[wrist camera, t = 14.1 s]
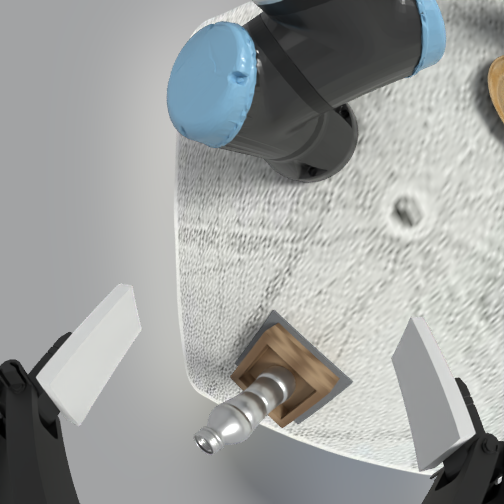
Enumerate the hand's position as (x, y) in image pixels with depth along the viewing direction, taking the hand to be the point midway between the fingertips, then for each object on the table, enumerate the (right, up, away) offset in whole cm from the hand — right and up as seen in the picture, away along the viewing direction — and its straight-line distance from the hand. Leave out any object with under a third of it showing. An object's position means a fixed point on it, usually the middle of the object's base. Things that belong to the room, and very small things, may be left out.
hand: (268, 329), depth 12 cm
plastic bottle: (+5, -18, +32) cm, 37 cm away
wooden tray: (+5, -18, +33) cm, 38 cm away
